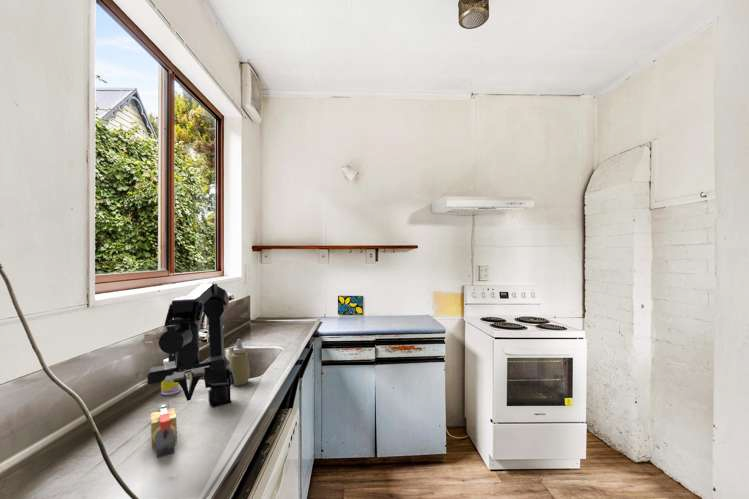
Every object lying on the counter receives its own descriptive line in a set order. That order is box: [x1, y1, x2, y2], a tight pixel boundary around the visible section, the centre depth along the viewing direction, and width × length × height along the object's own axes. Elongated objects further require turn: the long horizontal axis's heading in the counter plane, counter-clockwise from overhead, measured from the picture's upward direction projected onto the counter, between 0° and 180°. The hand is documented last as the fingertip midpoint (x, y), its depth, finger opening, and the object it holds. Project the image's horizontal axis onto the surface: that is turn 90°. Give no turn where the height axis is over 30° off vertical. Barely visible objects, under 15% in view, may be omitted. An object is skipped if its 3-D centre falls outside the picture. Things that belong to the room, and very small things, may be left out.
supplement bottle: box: [160, 357, 182, 396], centre depth 134 cm, size 7×7×13 cm
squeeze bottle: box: [229, 338, 251, 386], centre depth 142 cm, size 8×8×18 cm
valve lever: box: [156, 402, 171, 431], centre depth 95 cm, size 14×3×2 cm, turn 34°
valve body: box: [150, 407, 178, 459], centre depth 100 cm, size 6×22×8 cm, turn 34°
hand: (188, 400), depth 95 cm, fingers closed
